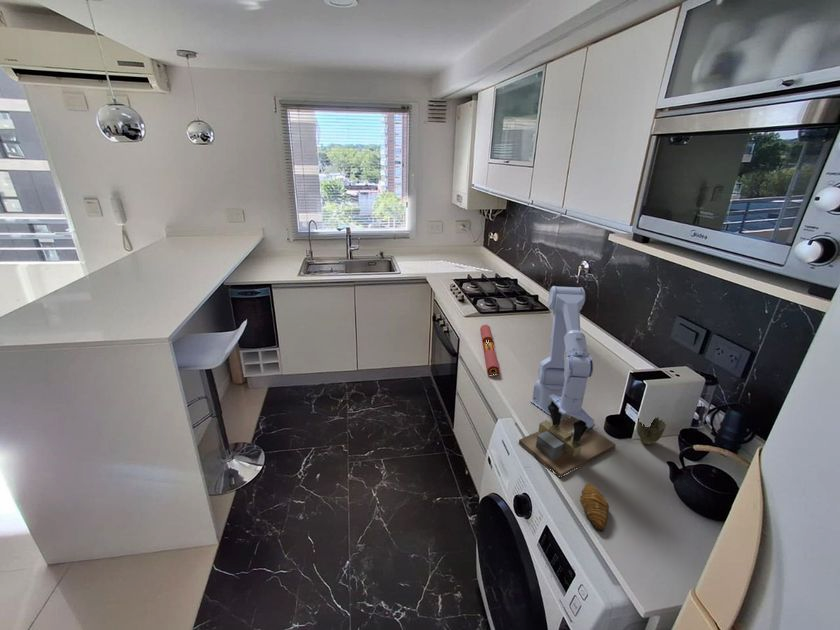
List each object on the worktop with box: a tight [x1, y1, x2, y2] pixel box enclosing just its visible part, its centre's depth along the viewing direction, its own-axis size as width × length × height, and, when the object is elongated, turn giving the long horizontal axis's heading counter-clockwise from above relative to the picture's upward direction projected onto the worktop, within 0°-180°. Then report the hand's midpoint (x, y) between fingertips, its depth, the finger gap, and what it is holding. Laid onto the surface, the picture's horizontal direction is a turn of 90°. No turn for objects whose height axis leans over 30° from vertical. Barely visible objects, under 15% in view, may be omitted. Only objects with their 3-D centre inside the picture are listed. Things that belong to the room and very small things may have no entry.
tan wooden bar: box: [538, 419, 582, 457], centre depth 115 cm, size 13×3×5 cm, turn 30°
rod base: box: [518, 416, 617, 478], centre depth 118 cm, size 16×24×6 cm, turn 120°
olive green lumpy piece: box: [636, 416, 667, 446], centre depth 119 cm, size 8×7×8 cm
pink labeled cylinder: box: [479, 324, 501, 376], centre depth 175 cm, size 42×5×5 cm, turn 176°
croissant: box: [579, 483, 610, 532], centre depth 96 cm, size 14×7×5 cm, turn 169°
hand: (565, 433), depth 116 cm, fingers open, 7 cm apart
